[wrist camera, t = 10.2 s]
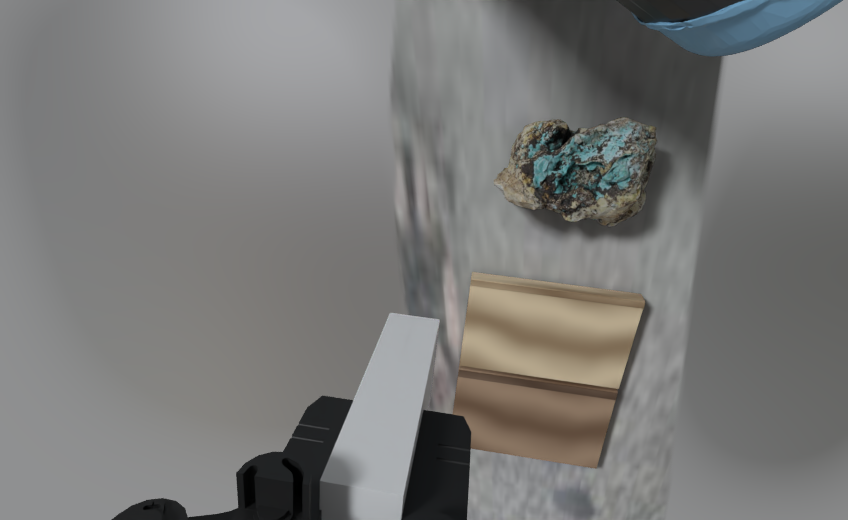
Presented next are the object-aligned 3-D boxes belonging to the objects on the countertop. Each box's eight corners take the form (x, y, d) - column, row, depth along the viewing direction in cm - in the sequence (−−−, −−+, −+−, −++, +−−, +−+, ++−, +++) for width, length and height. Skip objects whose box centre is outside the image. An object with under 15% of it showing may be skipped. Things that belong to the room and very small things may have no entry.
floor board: (460, 359, 52) (459, 368, 51) (614, 382, 51) (618, 392, 49) (449, 434, 56) (448, 445, 54) (593, 457, 55) (596, 469, 53)
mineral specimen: (662, 118, 41) (656, 116, 34) (647, 227, 43) (638, 245, 37) (518, 116, 46) (488, 115, 40) (512, 213, 49) (483, 227, 42)
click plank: (472, 271, 48) (471, 279, 47) (640, 294, 47) (645, 302, 45) (460, 357, 52) (459, 366, 51) (615, 379, 51) (618, 389, 49)
